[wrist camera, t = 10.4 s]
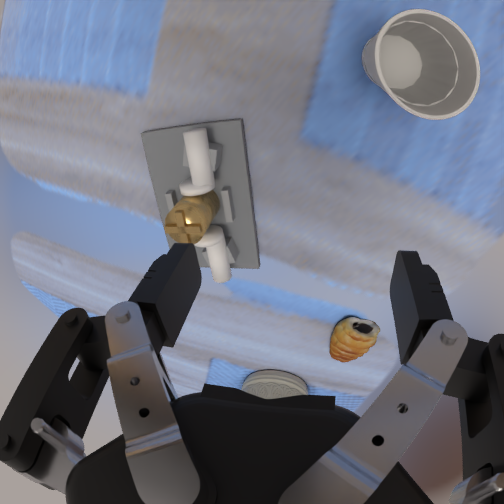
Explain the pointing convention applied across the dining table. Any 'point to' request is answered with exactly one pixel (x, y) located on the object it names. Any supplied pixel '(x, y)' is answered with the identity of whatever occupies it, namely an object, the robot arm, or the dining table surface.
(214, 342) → the dining table surface
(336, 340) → the pastry
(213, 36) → the dining table surface
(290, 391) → the jar
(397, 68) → the cup
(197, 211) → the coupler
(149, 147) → the shaft rig
